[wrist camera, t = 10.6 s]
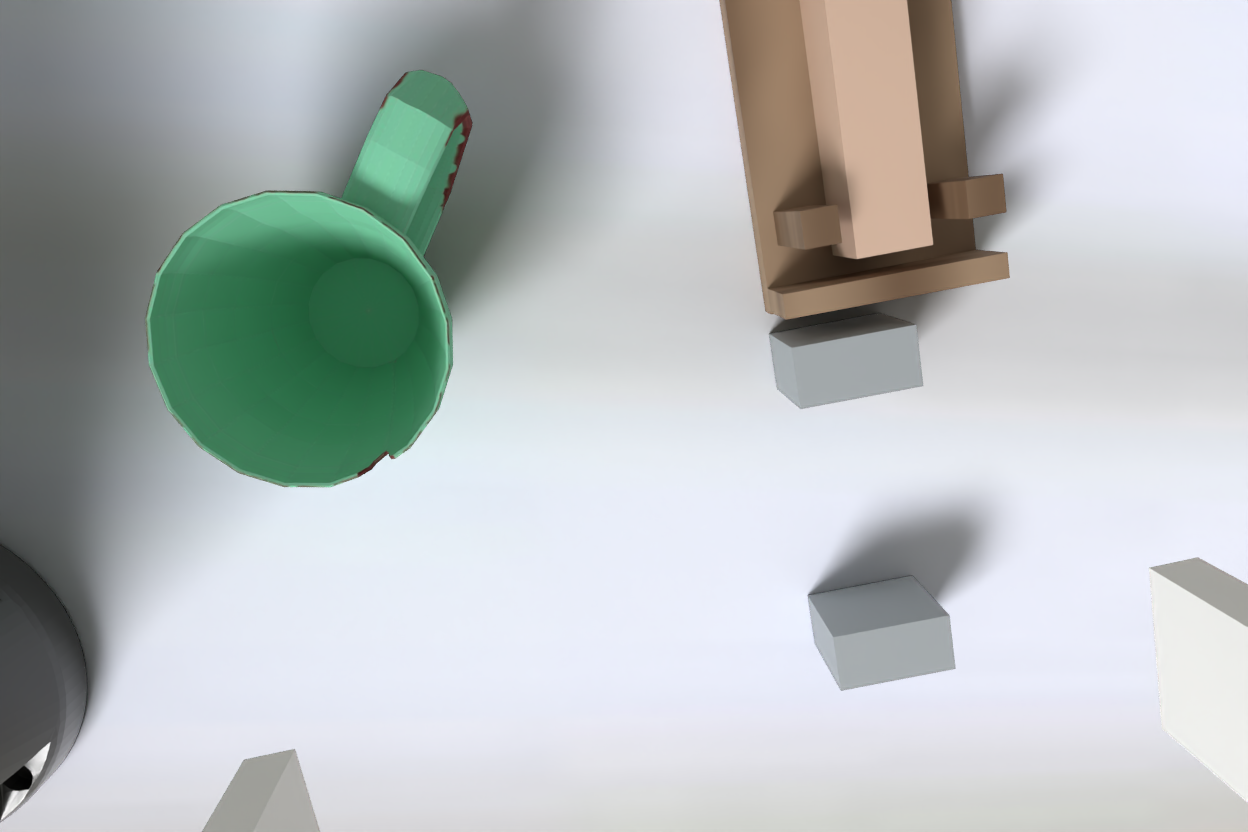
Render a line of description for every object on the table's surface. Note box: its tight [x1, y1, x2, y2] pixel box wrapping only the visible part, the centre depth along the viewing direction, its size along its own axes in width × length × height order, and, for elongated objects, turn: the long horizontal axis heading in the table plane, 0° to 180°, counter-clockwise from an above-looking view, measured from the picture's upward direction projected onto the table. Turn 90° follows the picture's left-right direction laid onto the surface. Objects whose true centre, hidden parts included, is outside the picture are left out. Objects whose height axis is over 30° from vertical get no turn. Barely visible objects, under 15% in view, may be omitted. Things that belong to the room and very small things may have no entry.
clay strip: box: [799, 0, 933, 259], centre depth 37 cm, size 3×14×4 cm, turn 10°
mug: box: [145, 70, 472, 487], centre depth 35 cm, size 15×10×10 cm
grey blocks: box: [769, 313, 955, 691], centre depth 41 cm, size 5×15×4 cm, turn 10°
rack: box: [719, 0, 1010, 320], centre depth 37 cm, size 9×18×6 cm, turn 10°
